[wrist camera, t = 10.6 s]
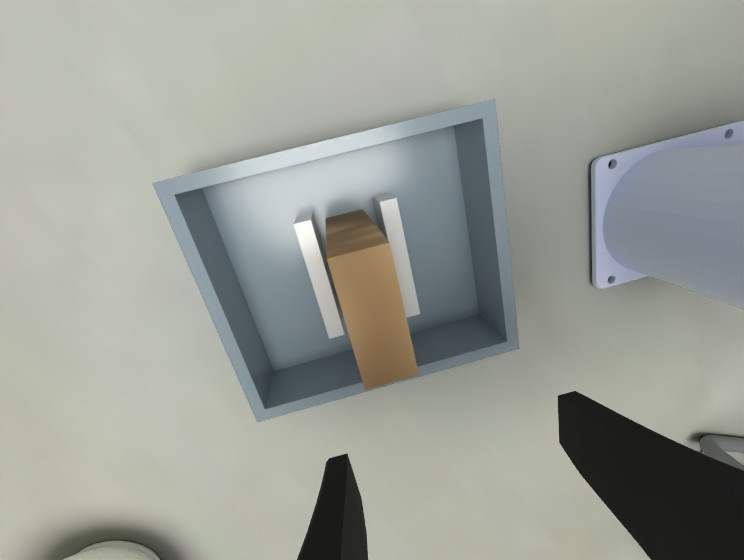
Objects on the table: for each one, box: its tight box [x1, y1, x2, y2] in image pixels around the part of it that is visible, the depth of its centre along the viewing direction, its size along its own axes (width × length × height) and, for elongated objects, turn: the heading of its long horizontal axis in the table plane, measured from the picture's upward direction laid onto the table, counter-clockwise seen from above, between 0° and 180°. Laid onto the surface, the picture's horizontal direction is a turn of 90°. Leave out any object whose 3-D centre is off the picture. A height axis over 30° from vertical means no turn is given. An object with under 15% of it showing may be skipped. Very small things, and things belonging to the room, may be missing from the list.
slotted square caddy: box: [152, 99, 519, 422], centre depth 18 cm, size 14×12×4 cm
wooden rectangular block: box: [326, 209, 419, 390], centre depth 15 cm, size 2×5×8 cm, turn 13°
